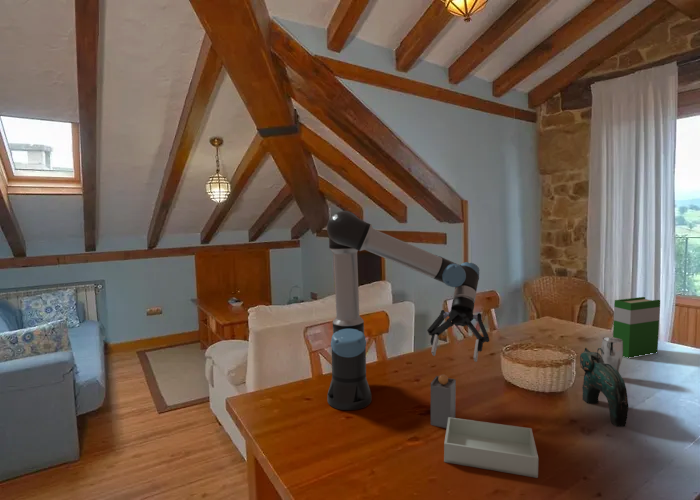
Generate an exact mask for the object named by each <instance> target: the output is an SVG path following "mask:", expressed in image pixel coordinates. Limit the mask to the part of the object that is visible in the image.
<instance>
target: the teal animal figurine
mask: <svg viewBox="0 0 700 500" xmlns="http://www.w3.org/2000/svg"><path fill="white" fill-rule="evenodd" d="M599 350H600V352H602V353H603V355H604V352H603V350H602V349H601V347H597V351H596V352H594V351H593V352H592V351H590V350H589V349H588V348H587V347H585V348H584V351H582V352H581V354H580V357H579V365H580V368H581V369H582V370H583V371H584V375H583V381H582V401H584V402H585V403H587V404H589V405H590V404H591V405H592V404H593V405H595V404H596V405H598V404H599V396H600V394H601V393H602V394H603V395H604V396H605V398H606V400H607V404H608V409H609V417H610V422H611V424H612V425H613V426H615V427H626V425H627V420H628V413H629V401H628V398H629V397H628V391H627V386H626V384H625V380H624V379H623V376H622V375H621V372H620V371H619V372H620V373H619V372H618V371H617V370H616V369H615V368H614V367H612V366H611V365H610V364H605V363H604V361H603V359H602V355H601V354H600V353H599Z"/></svg>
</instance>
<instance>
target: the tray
mask: <svg viewBox="0 0 700 500" xmlns="http://www.w3.org/2000/svg"><path fill="white" fill-rule="evenodd" d="M445 429H446V430H445V437H444V441H443V442H444V444H443V451H444V452H443V453H444V454H443V463H447V464H453V465H459V466H465V467H471V468H477V469H482V470H483V469H484V470H490V471H495V472H501V473H506V474H513V475H518V476H525V477H529V478H536V479H538V478H539V455H538V451H537V450H538V449H537V446H536V442H535V438H534V434H533V428H531V427H524V426H517V425H511V424H501V423H496V422H495V423H494V422H487V421H479V420H473V419H465V418H458V417H455V418H452V417H448V423H447V428H445Z"/></svg>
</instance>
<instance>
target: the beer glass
mask: <svg viewBox="0 0 700 500" xmlns="http://www.w3.org/2000/svg"><path fill="white" fill-rule="evenodd" d="M600 348H601V349H602V350H603V352H604V355H603V353H602V352H601V351H600V352H601V354H600V355H601V357H602V359H603V361H604V363H605V364H610V365H611V366H612V367H614V368H615V369H616V370H617V371H618V372H619V373H620V374H621V372H620V370H621V369H620V368H621V364H622V360H623V358H624V357H623V340H621V339H619V338H614V337H613V336H603V337H602V339H601V346H600Z"/></svg>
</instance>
